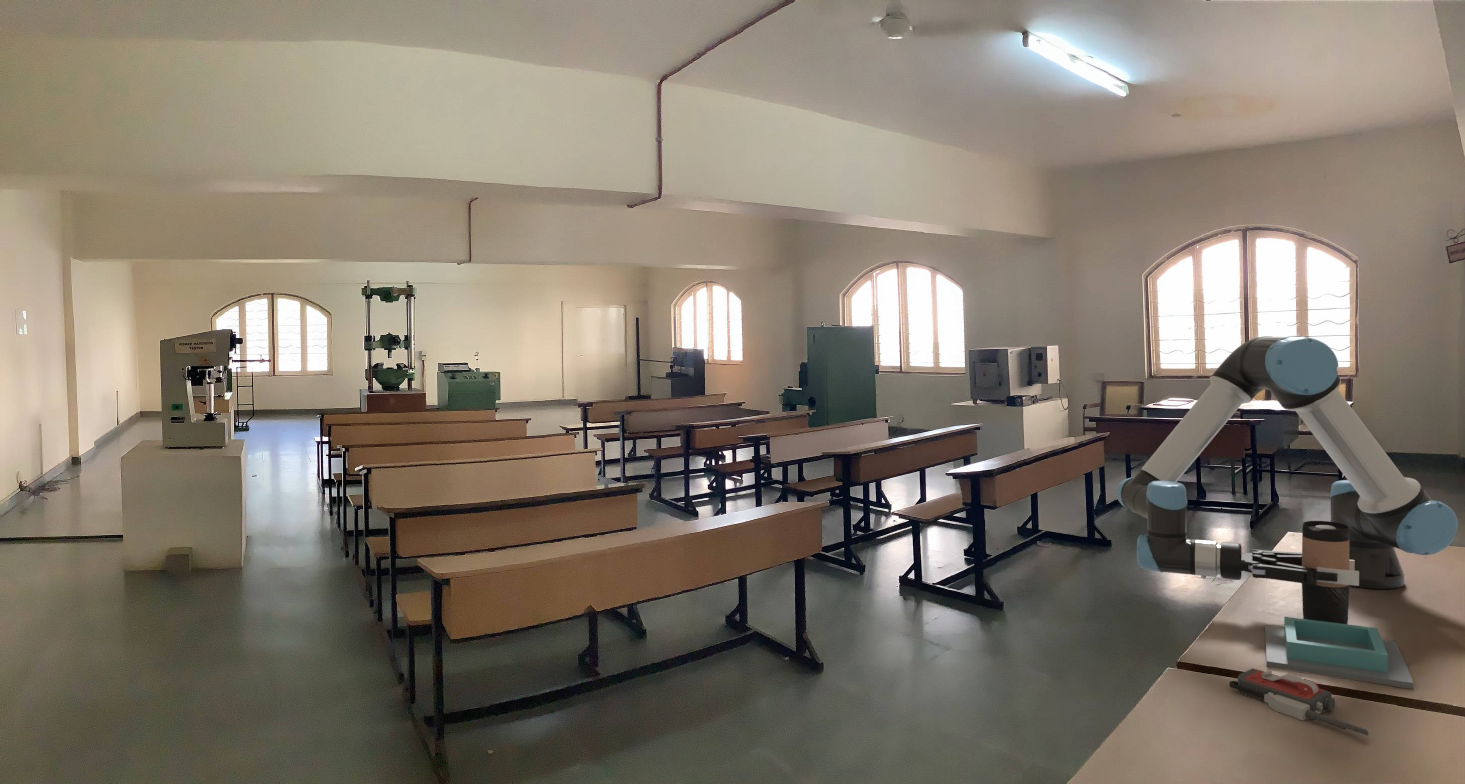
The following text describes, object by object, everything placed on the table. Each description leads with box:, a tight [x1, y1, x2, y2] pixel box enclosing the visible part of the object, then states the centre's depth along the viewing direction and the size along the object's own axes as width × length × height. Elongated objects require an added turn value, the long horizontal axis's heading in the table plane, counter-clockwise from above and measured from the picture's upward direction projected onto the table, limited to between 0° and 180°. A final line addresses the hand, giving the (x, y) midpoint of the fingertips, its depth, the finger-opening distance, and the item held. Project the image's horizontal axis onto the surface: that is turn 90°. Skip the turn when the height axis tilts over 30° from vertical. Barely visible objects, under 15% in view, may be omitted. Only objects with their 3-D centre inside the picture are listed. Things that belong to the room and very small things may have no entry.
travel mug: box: [1301, 520, 1350, 625], centre depth 160 cm, size 8×8×20 cm
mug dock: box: [1264, 616, 1415, 690], centre depth 146 cm, size 20×20×4 cm
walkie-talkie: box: [1228, 668, 1369, 736], centre depth 127 cm, size 9×4×20 cm
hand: (1356, 572), depth 158 cm, fingers closed on travel mug, 7 cm apart
